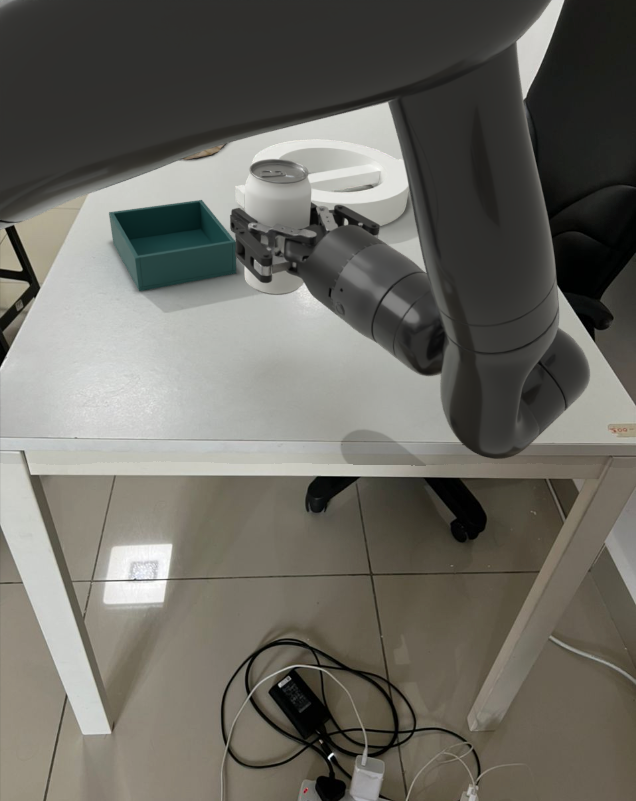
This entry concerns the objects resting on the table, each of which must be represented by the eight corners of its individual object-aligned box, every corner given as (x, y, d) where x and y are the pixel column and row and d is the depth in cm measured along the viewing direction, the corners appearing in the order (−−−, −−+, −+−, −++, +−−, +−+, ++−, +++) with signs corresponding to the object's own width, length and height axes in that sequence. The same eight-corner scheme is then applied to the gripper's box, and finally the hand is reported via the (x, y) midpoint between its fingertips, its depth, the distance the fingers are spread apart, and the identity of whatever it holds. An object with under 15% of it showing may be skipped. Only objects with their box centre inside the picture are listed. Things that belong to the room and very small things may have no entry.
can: (310, 295, 67) (319, 183, 59) (248, 298, 66) (249, 184, 58) (298, 264, 72) (305, 157, 64) (240, 266, 70) (240, 157, 63)
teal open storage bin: (139, 291, 88) (134, 258, 84) (113, 243, 97) (108, 212, 93) (236, 273, 93) (236, 241, 90) (203, 230, 102) (202, 199, 99)
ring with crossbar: (229, 212, 108) (229, 185, 104) (276, 154, 128) (277, 130, 125) (393, 243, 104) (398, 216, 101) (414, 178, 125) (419, 154, 122)
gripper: (436, 227, 57) (322, 162, 67) (305, 267, 50) (199, 187, 59) (420, 300, 62) (317, 229, 72) (299, 345, 55) (202, 260, 64)
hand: (264, 210), depth 65 cm, fingers closed on can, 6 cm apart
